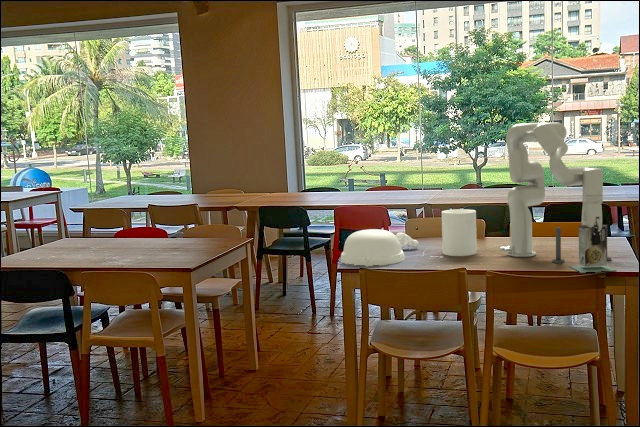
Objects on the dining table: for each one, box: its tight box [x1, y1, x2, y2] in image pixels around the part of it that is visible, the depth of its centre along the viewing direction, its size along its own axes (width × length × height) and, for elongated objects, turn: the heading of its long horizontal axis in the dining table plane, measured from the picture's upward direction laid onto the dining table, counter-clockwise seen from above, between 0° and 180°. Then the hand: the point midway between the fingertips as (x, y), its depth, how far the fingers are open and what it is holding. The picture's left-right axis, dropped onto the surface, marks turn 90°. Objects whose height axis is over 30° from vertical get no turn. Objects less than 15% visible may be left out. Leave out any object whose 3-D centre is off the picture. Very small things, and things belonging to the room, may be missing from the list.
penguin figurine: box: [395, 232, 420, 251], centre depth 341 cm, size 6×8×12 cm
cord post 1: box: [551, 226, 566, 264], centre depth 293 cm, size 5×5×15 cm
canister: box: [441, 208, 478, 257], centre depth 325 cm, size 16×16×20 cm
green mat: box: [569, 264, 617, 274], centre depth 277 cm, size 14×12×1 cm
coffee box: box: [578, 224, 608, 267], centre depth 276 cm, size 9×6×16 cm
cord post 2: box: [603, 224, 612, 262], centre depth 293 cm, size 5×5×15 cm
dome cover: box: [340, 228, 406, 267], centre depth 320 cm, size 32×30×14 cm
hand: (592, 242), depth 276 cm, fingers closed on coffee box, 6 cm apart
